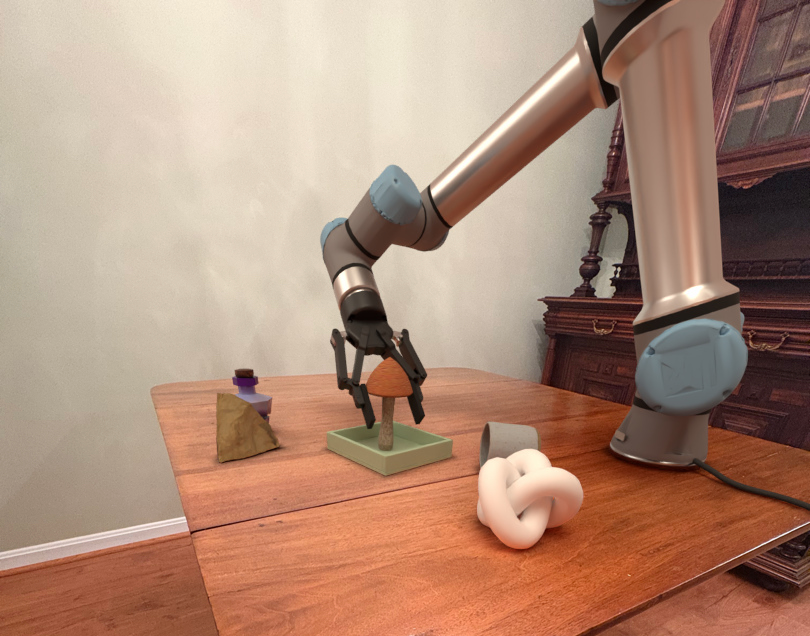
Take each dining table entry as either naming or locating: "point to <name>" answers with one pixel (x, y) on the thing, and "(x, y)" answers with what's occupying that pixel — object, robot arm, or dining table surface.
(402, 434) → the tray
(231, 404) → the rock
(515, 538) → the white knot sculpture
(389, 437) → the mushroom
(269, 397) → the potion bottle
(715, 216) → the robot arm
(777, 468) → the dining table surface
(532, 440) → the ceramic mug
